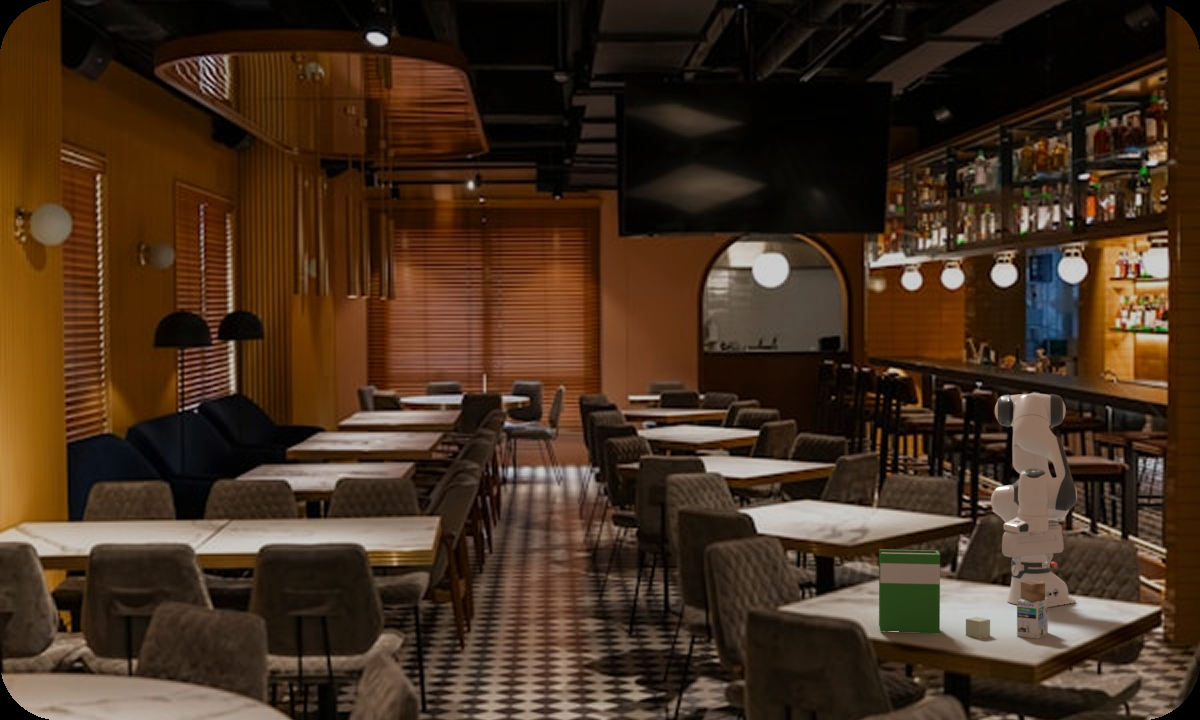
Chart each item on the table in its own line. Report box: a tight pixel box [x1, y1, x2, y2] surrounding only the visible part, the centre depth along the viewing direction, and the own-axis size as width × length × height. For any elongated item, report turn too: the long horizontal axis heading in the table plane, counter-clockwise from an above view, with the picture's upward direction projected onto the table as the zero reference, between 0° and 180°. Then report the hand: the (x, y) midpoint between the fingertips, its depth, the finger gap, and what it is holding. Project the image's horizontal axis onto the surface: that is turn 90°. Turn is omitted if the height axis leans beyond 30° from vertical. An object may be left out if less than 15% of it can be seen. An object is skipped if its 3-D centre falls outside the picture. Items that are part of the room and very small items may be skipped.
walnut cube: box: [1021, 581, 1045, 601], centre depth 441 cm, size 5×5×5 cm
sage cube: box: [965, 616, 991, 639], centre depth 440 cm, size 5×5×5 cm
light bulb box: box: [1016, 598, 1049, 640], centre depth 441 cm, size 11×7×11 cm, turn 148°
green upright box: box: [878, 548, 941, 634], centre depth 447 cm, size 18×7×24 cm, turn 82°
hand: (1033, 569), depth 441 cm, fingers open, 8 cm apart
